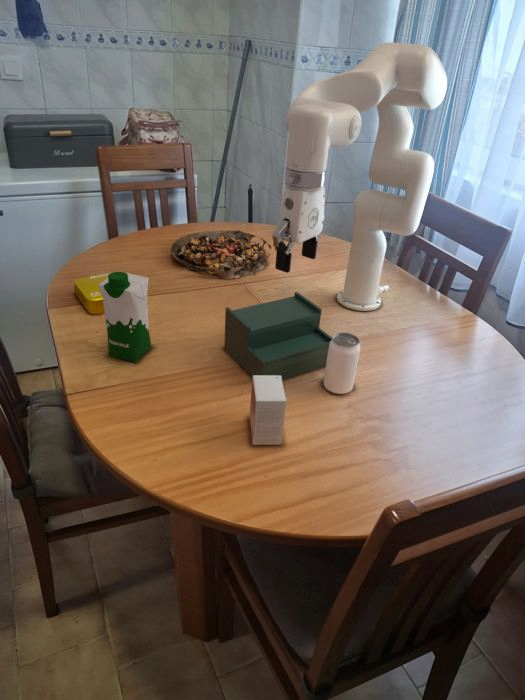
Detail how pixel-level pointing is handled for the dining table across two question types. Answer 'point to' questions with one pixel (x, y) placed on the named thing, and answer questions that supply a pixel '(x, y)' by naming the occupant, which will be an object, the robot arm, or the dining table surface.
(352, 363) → the can
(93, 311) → the yellow tin box
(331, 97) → the robot arm
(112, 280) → the milk carton
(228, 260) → the food dish
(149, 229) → the dining table surface
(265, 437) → the small box
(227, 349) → the step rack
